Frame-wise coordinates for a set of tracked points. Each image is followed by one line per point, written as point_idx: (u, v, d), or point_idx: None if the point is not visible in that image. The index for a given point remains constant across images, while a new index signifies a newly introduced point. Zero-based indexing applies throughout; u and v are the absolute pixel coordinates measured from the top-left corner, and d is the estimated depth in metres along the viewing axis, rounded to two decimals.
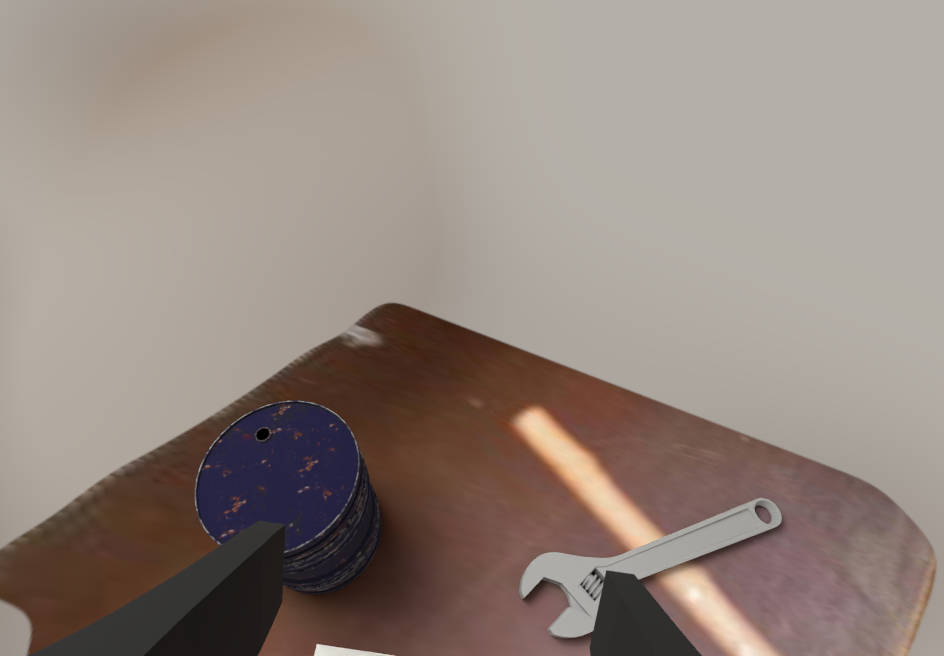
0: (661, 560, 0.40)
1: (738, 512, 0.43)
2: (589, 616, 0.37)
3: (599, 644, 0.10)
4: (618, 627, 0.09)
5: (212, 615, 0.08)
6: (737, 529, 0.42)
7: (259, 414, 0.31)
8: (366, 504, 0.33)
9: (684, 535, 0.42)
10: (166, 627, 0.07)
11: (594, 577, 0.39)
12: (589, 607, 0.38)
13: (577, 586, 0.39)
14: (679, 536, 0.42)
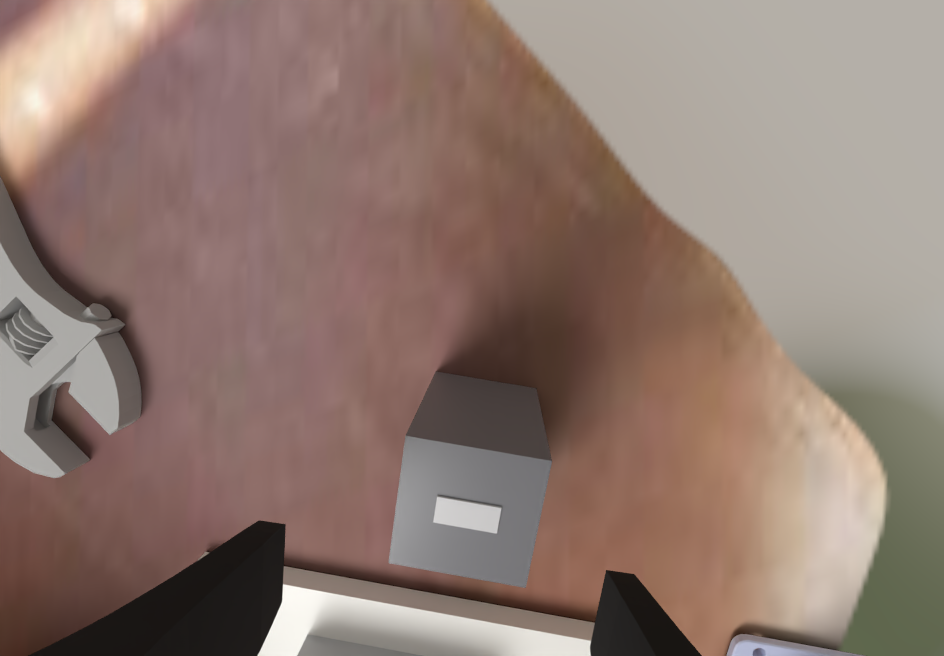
0: None
1: None
2: (79, 354, 0.18)
3: (599, 644, 0.10)
4: (618, 627, 0.09)
5: (212, 615, 0.08)
6: None
7: None
8: None
9: None
10: (166, 627, 0.07)
11: (9, 328, 0.18)
12: (64, 350, 0.18)
13: (30, 368, 0.18)
14: None
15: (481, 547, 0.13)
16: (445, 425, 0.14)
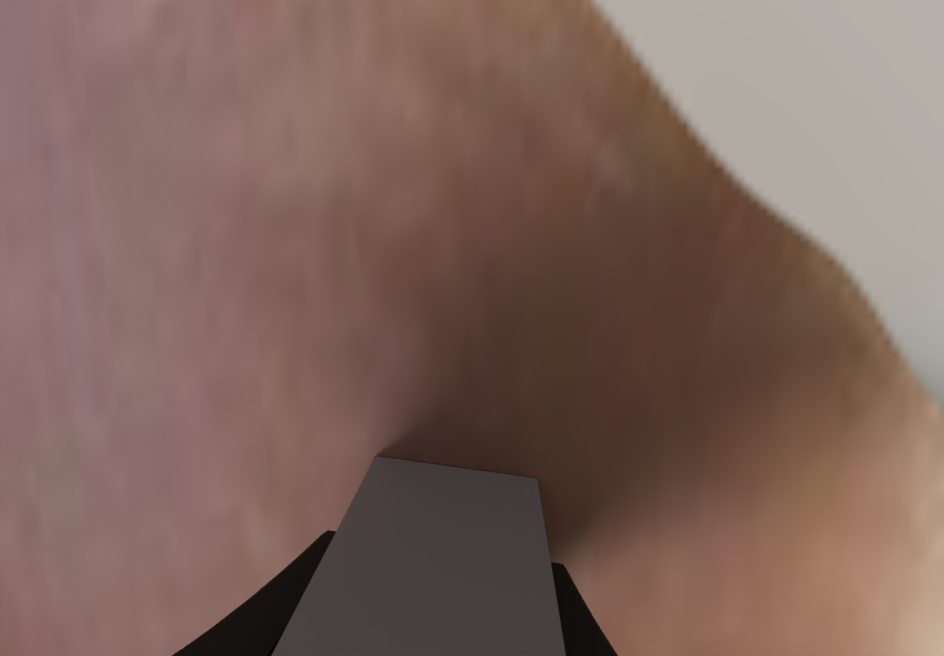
0: None
1: None
2: None
3: None
4: None
5: None
6: None
7: None
8: None
9: None
10: (269, 642, 0.07)
11: None
12: None
13: None
14: None
15: None
16: (357, 626, 0.07)
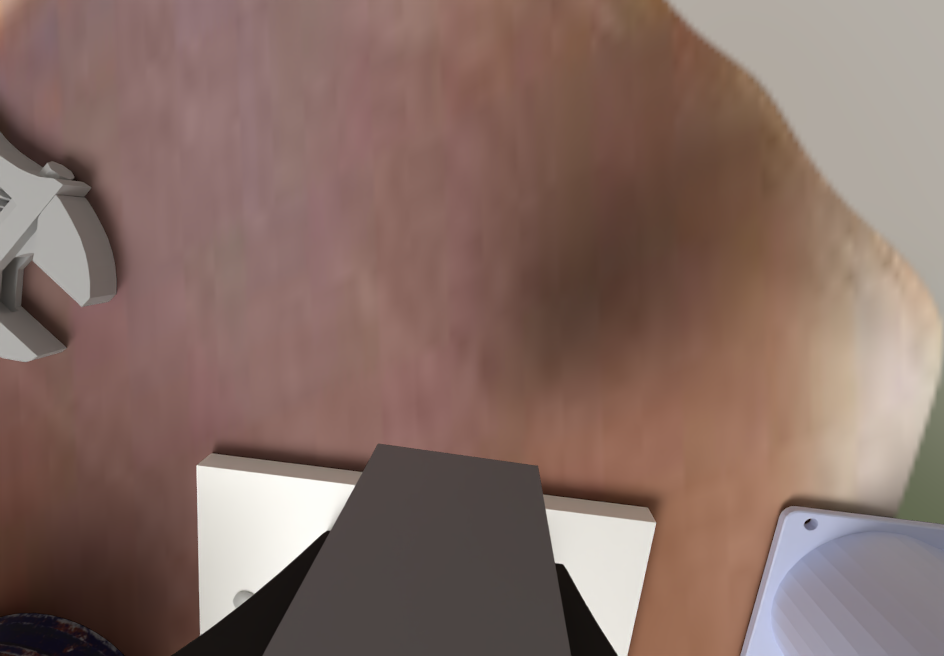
0: None
1: None
2: (40, 215, 0.17)
3: None
4: None
5: None
6: None
7: None
8: None
9: None
10: (268, 642, 0.07)
11: None
12: (23, 212, 0.17)
13: None
14: None
15: None
16: (361, 601, 0.07)
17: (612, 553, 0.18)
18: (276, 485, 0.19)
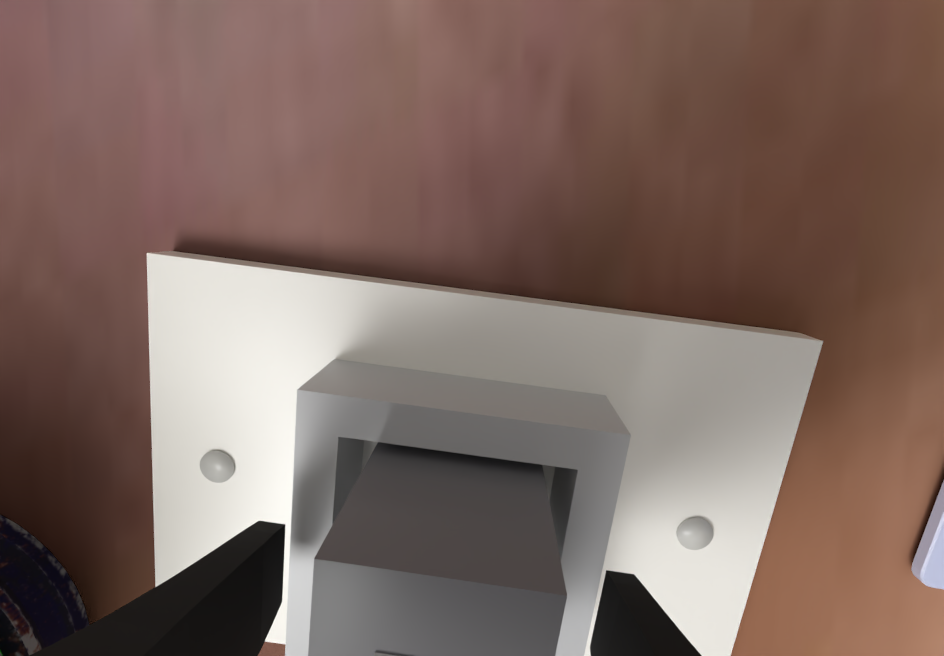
0: None
1: None
2: None
3: (599, 644, 0.10)
4: (618, 627, 0.09)
5: (212, 615, 0.08)
6: None
7: None
8: None
9: None
10: (166, 627, 0.07)
11: None
12: None
13: None
14: None
15: None
16: (390, 524, 0.08)
17: (754, 390, 0.13)
18: (263, 284, 0.13)
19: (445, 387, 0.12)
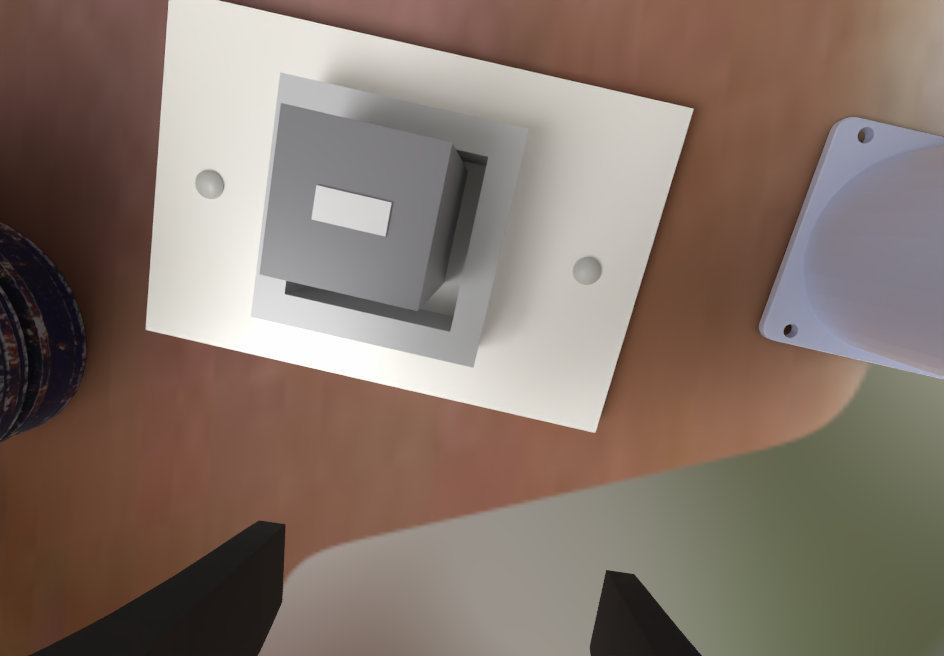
0: None
1: None
2: None
3: (599, 644, 0.10)
4: (618, 627, 0.09)
5: (212, 615, 0.08)
6: None
7: None
8: None
9: None
10: (166, 627, 0.07)
11: None
12: None
13: None
14: None
15: (367, 256, 0.11)
16: None
17: (639, 147, 0.16)
18: (261, 24, 0.16)
19: None
